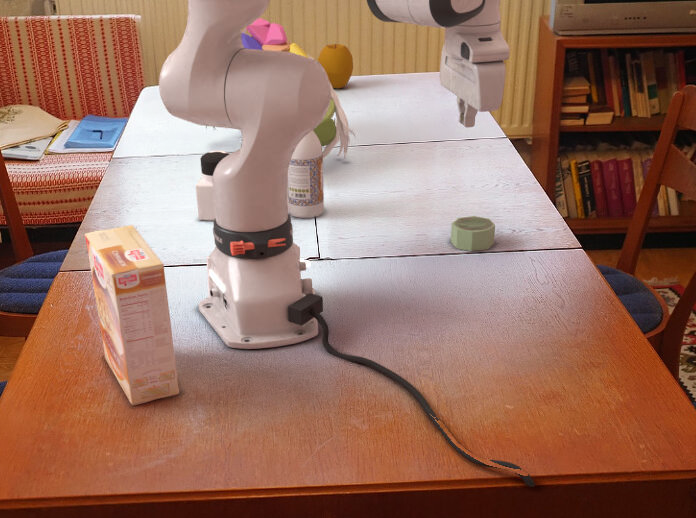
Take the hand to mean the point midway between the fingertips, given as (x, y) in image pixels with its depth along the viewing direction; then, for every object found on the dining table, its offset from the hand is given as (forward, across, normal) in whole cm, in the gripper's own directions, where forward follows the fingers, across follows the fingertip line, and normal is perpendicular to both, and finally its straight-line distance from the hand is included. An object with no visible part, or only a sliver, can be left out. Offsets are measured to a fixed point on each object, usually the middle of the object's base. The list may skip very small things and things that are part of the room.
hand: (466, 125), depth 165 cm
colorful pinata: (+20, -56, -22) cm, 63 cm away
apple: (+19, -108, +3) cm, 109 cm away
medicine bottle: (+20, -23, -40) cm, 51 cm away
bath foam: (+20, -19, -24) cm, 37 cm away
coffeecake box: (+21, +35, -60) cm, 72 cm away
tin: (+18, +4, +1) cm, 19 cm away
